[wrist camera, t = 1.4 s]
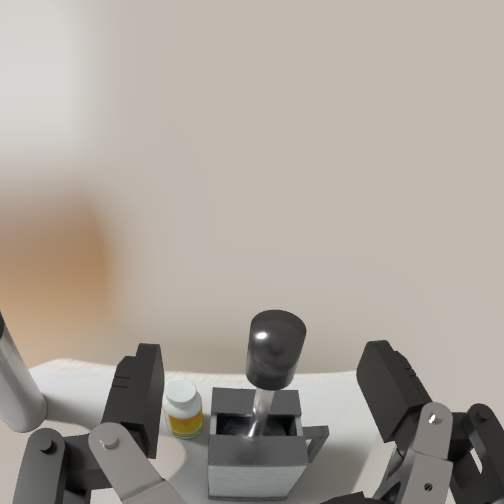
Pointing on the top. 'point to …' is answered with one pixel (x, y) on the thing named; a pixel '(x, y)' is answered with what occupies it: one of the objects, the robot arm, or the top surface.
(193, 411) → the supplement bottle
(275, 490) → the grey box
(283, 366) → the dark grey knob handle
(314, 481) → the top surface
